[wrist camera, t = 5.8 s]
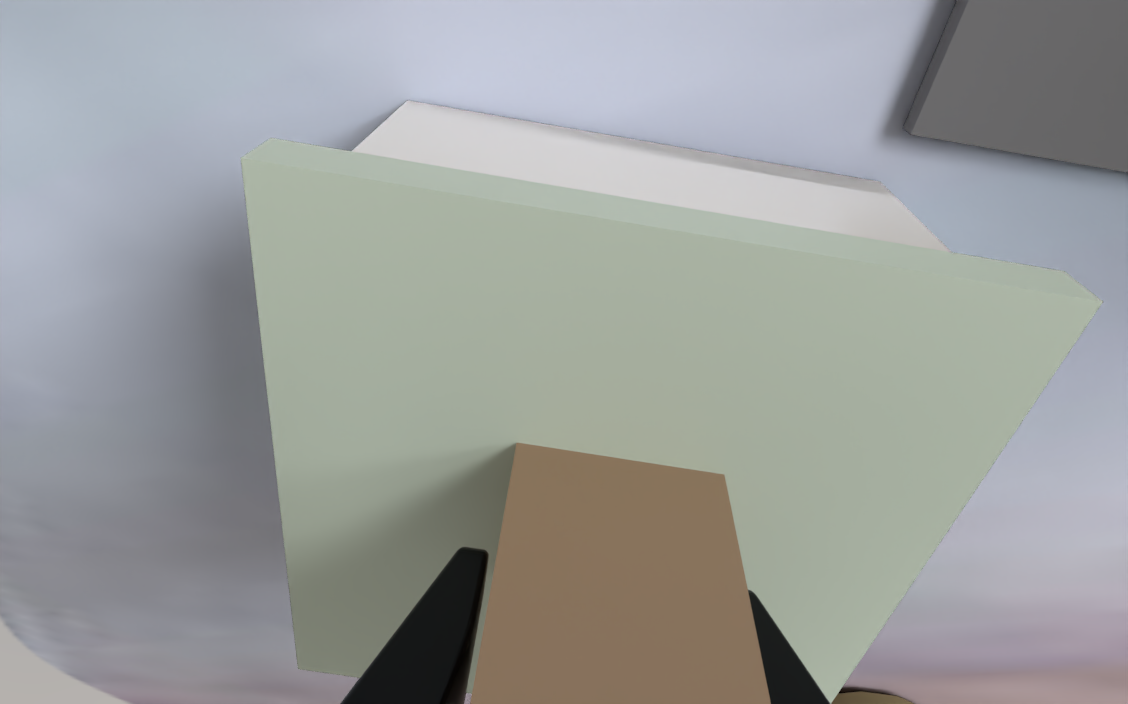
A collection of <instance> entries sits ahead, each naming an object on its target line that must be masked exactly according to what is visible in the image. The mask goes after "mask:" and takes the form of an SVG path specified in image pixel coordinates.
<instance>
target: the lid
mask: <svg viewBox="0 0 1128 704" xmlns="http://www.w3.org/2000/svg"><path fill="white" fill-rule="evenodd" d="M241 165H242V174H243V183H244V192H245V201H246V210H247V219H248V228H249V237H250V245H251V254H252V263H253V272H254V281H255V290H256V299H257V308H258V317H259V326H260V335H261V343H262V352H263V361H264V370H265V379H266V388H267V397H268V406H269V415H270V424H271V433H272V442H273V450H274V459H275V468H276V477H277V486H278V495H279V504H280V513H281V522H282V531H283V540H284V548H285V557H286V566H287V575H288V584H289V593H290V602H291V611H292V620H293V629H294V638H295V646H296V655H297V664H298V669H301V670H308V671H315V672H322V673H330V674H337V675H344V676H351V677H358V678H360V677H361V676H362V675H363V673H364V672H365V671H366V669H367V668H368V667H369V665H370V664H371V663H372V661H373V660H374V659H375V658H376V656H377V655H378V654H379V652H380V651H381V650H382V648H383V647H384V646H385V644H386V643H387V642H388V640H389V639H390V638H391V637H392V635H393V634H394V633H395V631H396V630H397V629H398V627H399V626H400V625H401V623H402V622H403V621H404V619H405V618H406V617H407V616H408V614H409V613H410V612H411V610H412V609H413V608H414V606H415V605H416V604H417V602H418V601H419V600H420V598H421V597H422V596H423V595H424V593H425V592H426V591H427V589H428V588H429V587H430V585H431V584H432V583H433V581H434V580H435V579H436V577H437V576H438V575H439V573H440V572H441V571H442V570H443V568H444V567H445V566H446V564H447V563H448V562H449V560H450V559H451V558H452V556H453V555H454V554H455V552H456V551H457V550H458V549H459V548H461V547H470V548H477V549H484V550H486V551H487V552H488V554H489V558H488V566H487V573H486V580H485V588H484V594H483V600H482V606H481V612H480V617H479V623H478V629H477V634H476V640H475V646H474V651H473V657H472V663H471V668H470V674H469V680H468V685H467V691H466V693H471V694H472V696H471V702H470V704H771V701H770V696H769V692H768V687H767V682H766V677H765V672H764V667H763V662H762V657H761V652H760V647H759V642H758V637H757V633H756V628H755V623H754V618H753V613H752V608H751V603H750V598H749V593H748V590H751V591H753V592H754V593H755V594H756V595H757V597H758V598H759V600H760V601H761V603H762V604H763V605H764V607H765V608H766V610H767V611H768V613H769V614H770V616H771V617H772V619H773V620H774V622H775V623H776V625H777V626H778V627H779V629H780V630H781V632H782V633H783V635H784V636H785V638H786V639H787V641H788V642H789V644H790V645H791V647H792V648H793V649H794V651H795V652H796V654H797V655H798V657H799V658H800V660H801V661H802V663H803V664H804V666H805V667H806V669H807V670H808V671H809V673H810V674H811V676H812V677H813V679H814V680H815V682H816V683H817V685H818V686H819V688H820V689H821V691H822V692H823V693H824V695H825V696H826V698H827V699H828V701H829V702H830V704H831V703H832V701H833V700H834V698H835V697H836V696H837V694H838V693H839V691H840V690H841V688H842V687H843V685H844V684H845V682H846V681H847V679H848V678H849V676H850V675H851V673H852V672H853V670H854V669H855V667H856V666H857V664H858V663H859V662H860V660H861V659H862V657H863V656H864V654H865V653H866V651H867V650H868V648H869V647H870V645H871V644H872V642H873V641H874V639H875V638H876V636H877V635H878V633H879V632H880V631H881V629H882V628H883V626H884V625H885V623H886V622H887V620H888V619H889V617H890V616H891V614H892V613H893V611H894V610H895V608H896V607H897V605H898V604H899V602H900V601H901V600H902V598H903V597H904V595H905V594H906V592H907V591H908V589H909V588H910V586H911V585H912V583H913V582H914V580H915V579H916V577H917V576H918V574H919V573H920V571H921V570H922V569H923V567H924V566H925V564H926V563H927V561H928V560H929V558H930V557H931V555H932V554H933V552H934V551H935V549H936V548H937V546H938V545H939V543H940V542H941V540H942V539H943V538H944V536H945V535H946V533H947V532H948V530H949V529H950V527H951V526H952V524H953V523H954V521H955V520H956V518H957V517H958V515H959V514H960V512H961V511H962V509H963V508H964V506H965V505H966V504H967V502H968V501H969V499H970V498H971V496H972V495H973V493H974V492H975V490H976V489H977V487H978V486H979V484H980V483H981V481H982V480H983V478H984V477H985V475H986V474H987V473H988V471H989V470H990V468H991V467H992V465H993V464H994V462H995V461H996V459H997V458H998V456H999V455H1000V453H1001V452H1002V450H1003V449H1004V447H1005V446H1006V444H1007V443H1008V442H1009V440H1010V439H1011V437H1012V436H1013V434H1014V433H1015V431H1016V430H1017V428H1018V427H1019V425H1020V424H1021V422H1022V421H1023V419H1024V418H1025V416H1026V415H1027V413H1028V412H1029V411H1030V409H1031V408H1032V406H1033V405H1034V403H1035V402H1036V400H1037V399H1038V397H1039V396H1040V394H1041V393H1042V391H1043V390H1044V388H1045V387H1046V385H1047V384H1048V382H1049V381H1050V380H1051V378H1052V377H1053V375H1054V374H1055V372H1056V371H1057V369H1058V368H1059V366H1060V365H1061V363H1062V362H1063V360H1064V359H1065V357H1066V356H1067V354H1068V353H1069V351H1070V350H1071V348H1072V347H1073V346H1074V344H1075V343H1076V341H1077V340H1078V338H1079V337H1080V335H1081V334H1082V332H1083V331H1084V329H1085V328H1086V326H1087V325H1088V323H1089V322H1090V320H1091V319H1092V317H1093V316H1094V315H1095V313H1096V312H1097V310H1098V309H1099V307H1100V306H1101V304H1102V303H1103V301H1101V300H1100V299H1099V298H1098V297H1096V296H1095V295H1094V294H1093V293H1091V292H1090V291H1089V290H1088V289H1086V288H1085V287H1084V286H1082V285H1081V284H1080V283H1079V282H1077V281H1076V280H1075V279H1074V278H1072V277H1071V276H1070V275H1068V274H1067V273H1066V272H1065V271H1060V270H1054V269H1048V268H1042V267H1036V266H1030V265H1024V264H1018V263H1012V262H1006V261H1000V260H994V259H988V258H982V257H976V256H971V255H965V254H959V253H953V252H947V251H941V250H935V249H929V248H923V247H917V246H911V245H905V244H899V243H893V242H887V241H881V240H875V239H869V238H864V237H858V236H852V235H846V234H840V233H834V232H828V231H822V230H816V229H810V228H804V227H798V226H792V225H786V224H780V223H774V222H768V221H762V220H757V219H751V218H745V217H739V216H733V215H727V214H721V213H715V212H709V211H703V210H697V209H691V208H685V207H679V206H673V205H667V204H661V203H656V202H650V201H644V200H638V199H632V198H626V197H620V196H614V195H608V194H602V193H596V192H590V191H584V190H578V189H572V188H566V187H560V186H554V185H549V184H543V183H537V182H531V181H525V180H519V179H513V178H507V177H501V176H495V175H489V174H483V173H477V172H471V171H465V170H459V169H453V168H448V167H442V166H436V165H430V164H424V163H418V162H412V161H406V160H400V159H394V158H388V157H382V156H376V155H370V154H364V153H358V152H352V151H346V150H341V149H335V148H329V147H323V146H317V145H311V144H305V143H299V142H293V141H287V140H281V139H275V138H270V139H268V140H267V141H265V142H264V143H262V144H261V145H259V146H258V147H256V148H255V149H253V150H252V151H250V152H249V153H247V154H246V155H244V156H243V157H241Z"/></svg>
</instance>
